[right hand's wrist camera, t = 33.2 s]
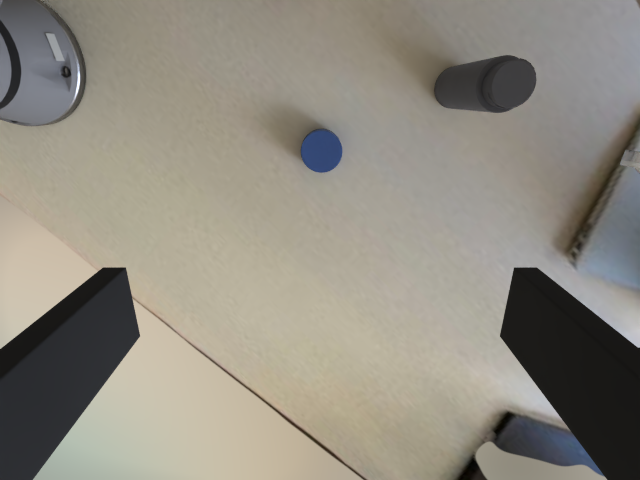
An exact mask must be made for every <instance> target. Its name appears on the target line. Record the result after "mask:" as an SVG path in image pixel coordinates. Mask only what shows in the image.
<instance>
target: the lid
mask: <svg viewBox="0 0 640 480" xmlns="http://www.w3.org/2000/svg"><path fill="white" fill-rule="evenodd" d="M301 156H302V160H303V162H304V163H305V165H306V166H307V167H308V168H310V169H311V170H313V171H315V172H328V171H330V170H332V169H334V168H335V167H336V166H337V165H338V163H339V162H340V160H341V157H342V146H341V143H340V141H339V139H338V137H337V136H336V135H335V134H334V133H333V132H331V131H329V130H326V129H317V130H314V131H312V132H310V133H309V134H308V135H307V136H306V137H305V139H304V141H303V143H302V147H301Z"/></svg>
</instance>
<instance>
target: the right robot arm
mask: <svg viewBox="0 0 640 480" xmlns="http://www.w3.org/2000/svg"><path fill="white" fill-rule="evenodd" d="M85 83H86V70H85V63H84V59H83V55H82V52H81V49H80V46H79V44H78V42H77V40H76V38H75V36H74V34H73V33H72V31H71V30H70V28H69V27H68V26H67V24H66V23H65V22H64V21H63V19H62V18H61V17H60V16H59V15H58V14H57V13H56V12H55V11H53V10H52V9H51V8H50V7H49V6H47V5H46V4H44V3H43V2H41V1H39V0H0V119H1V120H4V121H7V122H10V123H13V124H18V125H24V126H40V125H48V124H53V123H56V122H59V121H61V120H63V119H65V118H66V117H68V116H69V115H70V114H71V113H72V112H73V111H74V110H75V109H76V108H77V106H78V104H79V103H80V101H81V99H82V96H83V93H84V89H85ZM139 337H140V334H139V329H138V324H137V319H136V314H135V310H134V305H133V300H132V295H131V290H130V285H129V281H128V276H127V271H126V268H102V269H101V270H100V271H98V272H97V273H96V274H94V275H93V276H92V277H91V278H89V279H88V280H87V281H86V282H85V283H83V284H82V285H81V286H79V287H78V288H77V289H76V290H74V291H73V292H72V293H71V294H69V295H68V296H67V297H66V298H64V299H63V300H62V301H60V302H59V303H58V304H57V305H55V306H54V307H53V308H52V309H50V310H49V311H48V312H47V313H45V314H44V315H43V316H42V317H40V318H39V319H38V320H37V321H35V322H34V323H33V324H32V325H30V326H29V327H28V328H26V329H25V330H24V331H23V332H21V333H20V334H19V335H18V336H16V337H15V338H14V339H13V340H11V341H10V342H9V343H8V344H6V345H5V346H4V347H2V348H1V349H0V480H33V478H34V477H35V476H36V475H37V473H38V472H39V471H40V469H41V468H42V466H43V465H44V464H45V462H46V461H47V460H48V458H49V457H50V456H51V454H52V453H53V452H54V450H55V449H56V448H57V446H58V445H59V444H60V442H61V441H62V440H63V438H64V437H65V436H66V434H67V433H68V432H69V430H70V429H71V428H72V426H73V425H74V424H75V422H76V421H77V420H78V418H79V417H80V416H81V414H82V413H83V412H84V410H85V409H86V408H87V406H88V405H89V404H90V402H91V401H92V400H93V398H94V397H95V396H96V394H97V393H98V392H99V390H100V389H101V388H102V386H103V385H104V384H105V382H106V381H107V380H108V378H109V377H110V376H111V374H112V373H113V372H114V370H115V369H116V368H117V366H118V365H119V364H120V362H121V361H122V360H123V358H124V357H125V356H126V354H127V353H128V352H129V350H130V349H131V348H132V346H133V345H134V343H135V342H136V341H137V339H138V338H139ZM500 337H501V338H502V340H503V341H504V342H505V344H506V345H507V346H508V348H509V349H510V350H511V352H512V353H513V354H514V356H515V357H516V358H517V360H518V361H519V362H520V364H521V365H522V366H523V368H524V369H525V370H526V372H527V373H528V374H529V376H530V377H531V378H532V380H533V381H534V382H535V384H536V385H537V386H538V388H539V389H540V390H541V392H542V393H543V394H544V396H545V397H546V398H547V400H548V401H549V402H550V404H551V405H552V406H553V408H554V409H555V410H556V412H557V413H558V414H559V416H560V417H561V418H562V420H563V421H564V422H565V424H566V425H567V426H568V428H569V429H570V430H571V432H572V433H573V434H574V436H575V437H576V438H577V440H578V441H579V442H580V444H581V445H582V446H583V448H584V449H585V450H586V452H587V453H588V454H589V456H590V457H591V458H592V460H593V461H594V462H595V464H596V465H597V466H598V468H599V469H600V471H601V472H602V473H603V475H604V476H605V477H606V479H607V480H640V348H638V347H636V346H635V345H634V344H632V343H631V342H630V341H629V340H627V339H626V338H625V337H624V336H622V335H621V334H620V333H619V332H617V331H616V330H615V329H614V328H612V327H611V326H610V325H609V324H607V323H606V322H605V321H603V320H602V319H601V318H600V317H598V316H597V315H596V314H595V313H593V312H592V311H591V310H590V309H588V308H587V307H586V306H585V305H583V304H582V303H581V302H580V301H578V300H577V299H576V298H574V297H573V296H572V295H571V294H569V293H568V292H567V291H566V290H564V289H563V288H562V287H561V286H559V285H558V284H557V283H556V282H554V281H553V280H552V279H551V278H549V277H548V276H547V275H546V274H544V273H543V272H542V271H540V270H539V269H538V268H514V271H513V276H512V281H511V285H510V290H509V295H508V300H507V305H506V310H505V314H504V319H503V324H502V329H501V334H500Z"/></svg>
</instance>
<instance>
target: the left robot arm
mask: <svg viewBox="0 0 640 480" xmlns="http://www.w3.org/2000/svg"><path fill="white" fill-rule="evenodd" d="M620 165H623V166H629V167H634V168H635V169H636V170H637V171H638V172H639V173H640V152H638V151H630V150H625V153H624V155H623V158H622V160H621V163H620Z"/></svg>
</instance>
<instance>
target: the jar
mask: <svg viewBox="0 0 640 480" xmlns="http://www.w3.org/2000/svg"><path fill="white" fill-rule="evenodd" d="M535 85H536V73H535V70H534V67H533V66H532V65H531V63H529V62H528V61H526V60H524V59H521V58H520V59H519V58H517V57H515V56H509V55H505V56H500V57H495V58H490V59H486V60H481V61H477V62H472V63H467V64H463V65H458V66H454V67H450V68H448V69H446V70H444V71H443V72H442V73H441V74H440V75H439V77H438V79H437V81H436V84H435V96H436V99H437V101H438V102H439V103H440V104H441V105H442V106H444V107H446V108H453V109H463V110H473V111H483V112H493V113H502V112H506V111H509V110H511V109H513V108H514V107H517V106H519V105H521V104H523V103H524V102H525V101H526V100H527V99H528V98H529V97H530V96H531V94H532V93H533V91H534V88H535Z"/></svg>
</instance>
